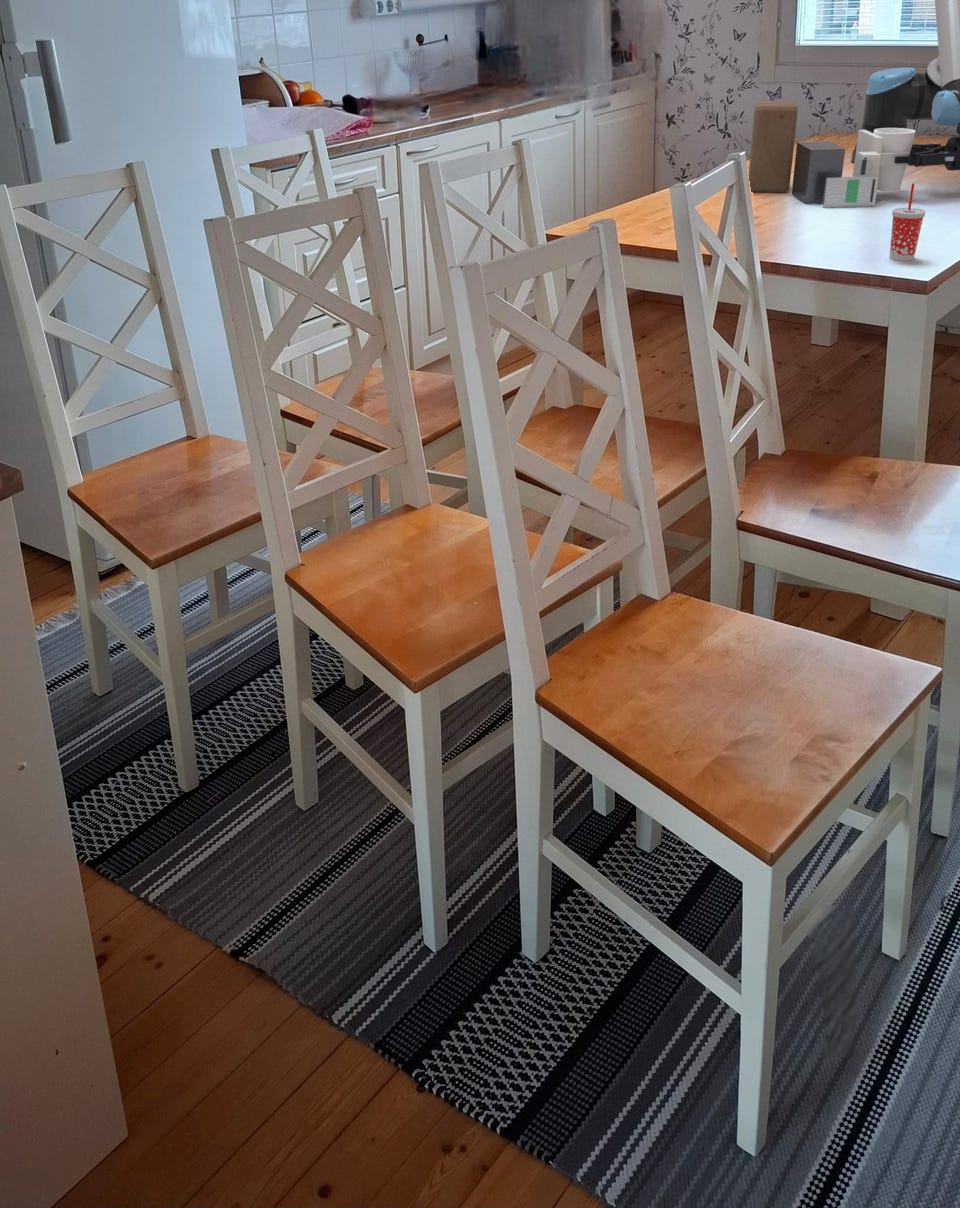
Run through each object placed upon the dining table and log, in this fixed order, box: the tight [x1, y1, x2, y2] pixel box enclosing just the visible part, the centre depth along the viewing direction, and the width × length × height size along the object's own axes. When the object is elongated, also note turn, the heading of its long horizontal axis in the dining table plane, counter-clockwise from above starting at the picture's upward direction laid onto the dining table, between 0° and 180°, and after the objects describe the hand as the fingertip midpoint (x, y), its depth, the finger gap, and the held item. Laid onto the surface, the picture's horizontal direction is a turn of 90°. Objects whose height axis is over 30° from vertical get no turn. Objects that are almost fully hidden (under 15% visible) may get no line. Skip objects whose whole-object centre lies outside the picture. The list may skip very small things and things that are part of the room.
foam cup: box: [874, 128, 916, 192], centre depth 278 cm, size 10×9×13 cm
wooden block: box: [748, 100, 799, 194], centre depth 288 cm, size 10×10×20 cm
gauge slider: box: [852, 129, 883, 177], centre depth 276 cm, size 6×17×13 cm, turn 2°
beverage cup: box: [888, 183, 926, 262], centre depth 226 cm, size 6×6×14 cm
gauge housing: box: [791, 140, 882, 209], centre depth 277 cm, size 18×17×12 cm
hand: (872, 156), depth 277 cm, fingers closed on foam cup, 9 cm apart
